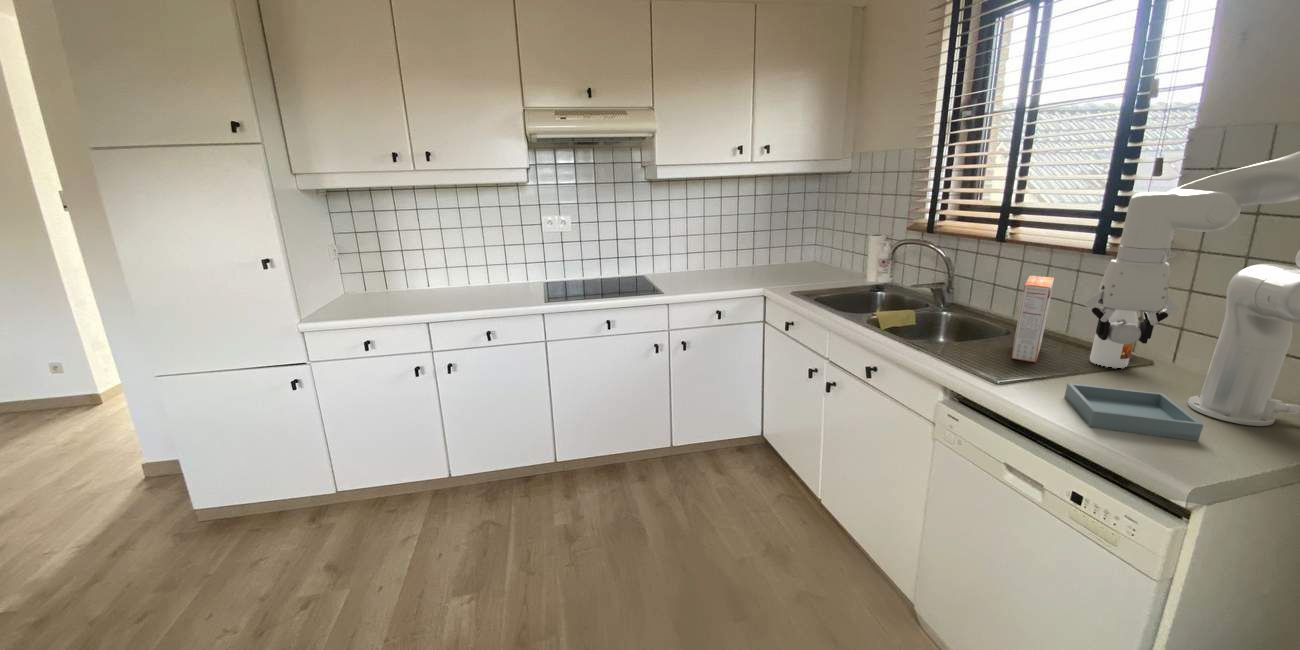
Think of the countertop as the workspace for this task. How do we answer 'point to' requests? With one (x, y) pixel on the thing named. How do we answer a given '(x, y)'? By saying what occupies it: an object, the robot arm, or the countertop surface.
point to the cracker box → (1032, 318)
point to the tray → (1132, 411)
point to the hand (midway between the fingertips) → (1121, 339)
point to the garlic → (1123, 332)
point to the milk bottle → (1113, 344)
